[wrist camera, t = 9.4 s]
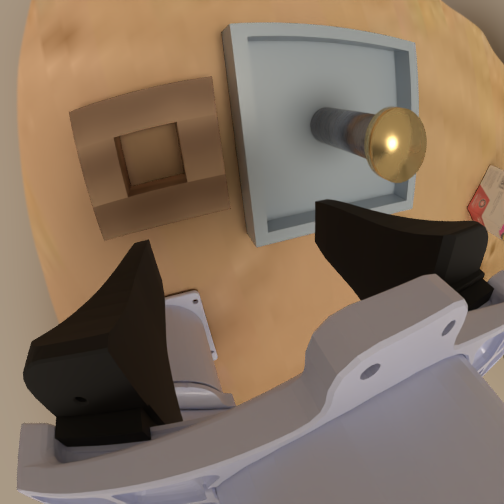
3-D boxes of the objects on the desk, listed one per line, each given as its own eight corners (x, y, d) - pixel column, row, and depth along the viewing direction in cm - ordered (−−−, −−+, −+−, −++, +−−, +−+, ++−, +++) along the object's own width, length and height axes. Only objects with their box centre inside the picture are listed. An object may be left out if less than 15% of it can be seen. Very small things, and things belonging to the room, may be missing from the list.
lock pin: (350, 149, 22) (423, 178, 16) (303, 154, 22) (372, 187, 15) (348, 98, 20) (427, 109, 13) (300, 99, 19) (373, 106, 12)
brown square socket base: (222, 197, 22) (230, 208, 20) (109, 226, 20) (104, 240, 18) (205, 79, 17) (211, 76, 15) (79, 110, 16) (68, 112, 13)
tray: (396, 199, 27) (412, 208, 25) (247, 233, 24) (256, 247, 22) (396, 43, 19) (415, 42, 17) (221, 32, 16) (229, 23, 14)
